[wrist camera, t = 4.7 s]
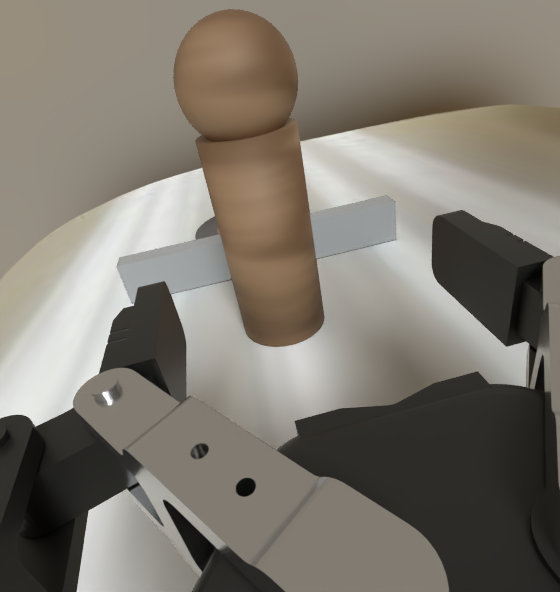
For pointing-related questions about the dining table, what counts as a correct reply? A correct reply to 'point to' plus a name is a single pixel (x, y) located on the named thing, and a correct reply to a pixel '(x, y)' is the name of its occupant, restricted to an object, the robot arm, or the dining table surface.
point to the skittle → (253, 169)
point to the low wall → (212, 260)
